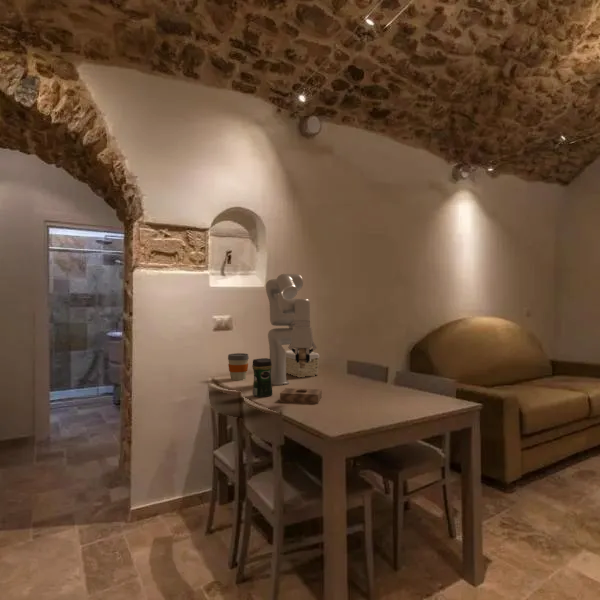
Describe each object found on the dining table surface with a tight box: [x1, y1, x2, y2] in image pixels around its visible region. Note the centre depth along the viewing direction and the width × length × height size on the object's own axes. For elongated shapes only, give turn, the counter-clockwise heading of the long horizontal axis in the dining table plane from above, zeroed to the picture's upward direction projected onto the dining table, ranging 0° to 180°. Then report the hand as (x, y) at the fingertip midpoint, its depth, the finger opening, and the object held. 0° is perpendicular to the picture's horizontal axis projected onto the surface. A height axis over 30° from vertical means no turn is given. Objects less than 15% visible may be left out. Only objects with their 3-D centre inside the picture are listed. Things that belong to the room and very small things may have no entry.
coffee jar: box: [251, 357, 273, 398], centre depth 216 cm, size 10×8×19 cm
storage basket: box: [285, 350, 320, 378], centre depth 278 cm, size 24×16×15 cm
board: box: [279, 387, 323, 404], centre depth 206 cm, size 18×12×4 cm, turn 79°
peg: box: [298, 348, 307, 368], centre depth 207 cm, size 4×4×10 cm
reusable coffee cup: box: [227, 352, 250, 381], centre depth 262 cm, size 13×13×15 cm
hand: (302, 362), depth 207 cm, fingers closed on peg, 4 cm apart
